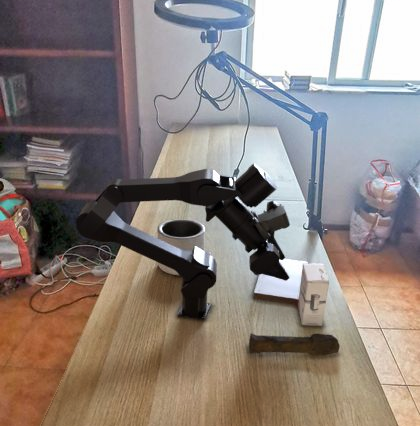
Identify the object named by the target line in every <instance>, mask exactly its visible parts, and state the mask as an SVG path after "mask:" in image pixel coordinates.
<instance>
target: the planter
mask: <svg viewBox="0 0 420 426" xmlns="http://www.w3.org/2000/svg"><path fill="white" fill-rule="evenodd" d="M157 238H158V239H160V240H162V241H164V242H166V243H168V244H170V245H172V246H175V247H177V248H179V249H181V250H184V251H193V248H194V246H196V247H198V248H200V249H201V250H203V251H205V252H206V250H205V248H206V247H205V245H206V227H205V225H203V223H201V222H199V221H197V220H193V219H190V218H189V219H188V218H174V219H167V220H165V221H162V222H161V223H160V224H159V225H158V226H157ZM157 264H158V267H159V269H160V270H161V271H163V272H164V273H166V274H169V275H173V276H177V277H178V276H180V275H179V274H178V273H177V272H176V271H175V270H173V269H171V268H169V267H167V266H165V265H162V264H160V263H158V262H157ZM180 277H181V276H180Z"/></svg>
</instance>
